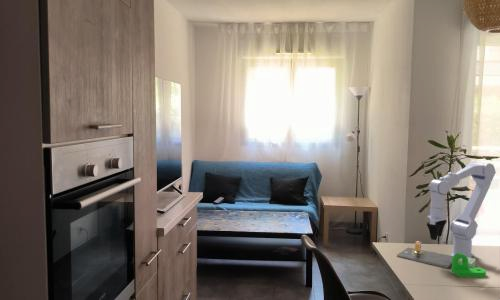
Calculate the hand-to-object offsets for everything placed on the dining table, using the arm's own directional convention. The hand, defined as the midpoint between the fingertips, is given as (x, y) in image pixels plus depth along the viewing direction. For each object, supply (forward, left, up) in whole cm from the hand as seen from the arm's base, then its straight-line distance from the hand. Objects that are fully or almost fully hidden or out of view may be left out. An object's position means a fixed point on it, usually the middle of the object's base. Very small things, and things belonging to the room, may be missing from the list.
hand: (436, 237), depth 193 cm
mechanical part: (+10, +16, -10) cm, 21 cm away
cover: (+2, +12, -10) cm, 16 cm away
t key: (-2, -8, -8) cm, 12 cm away
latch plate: (+1, -3, -10) cm, 10 cm away
